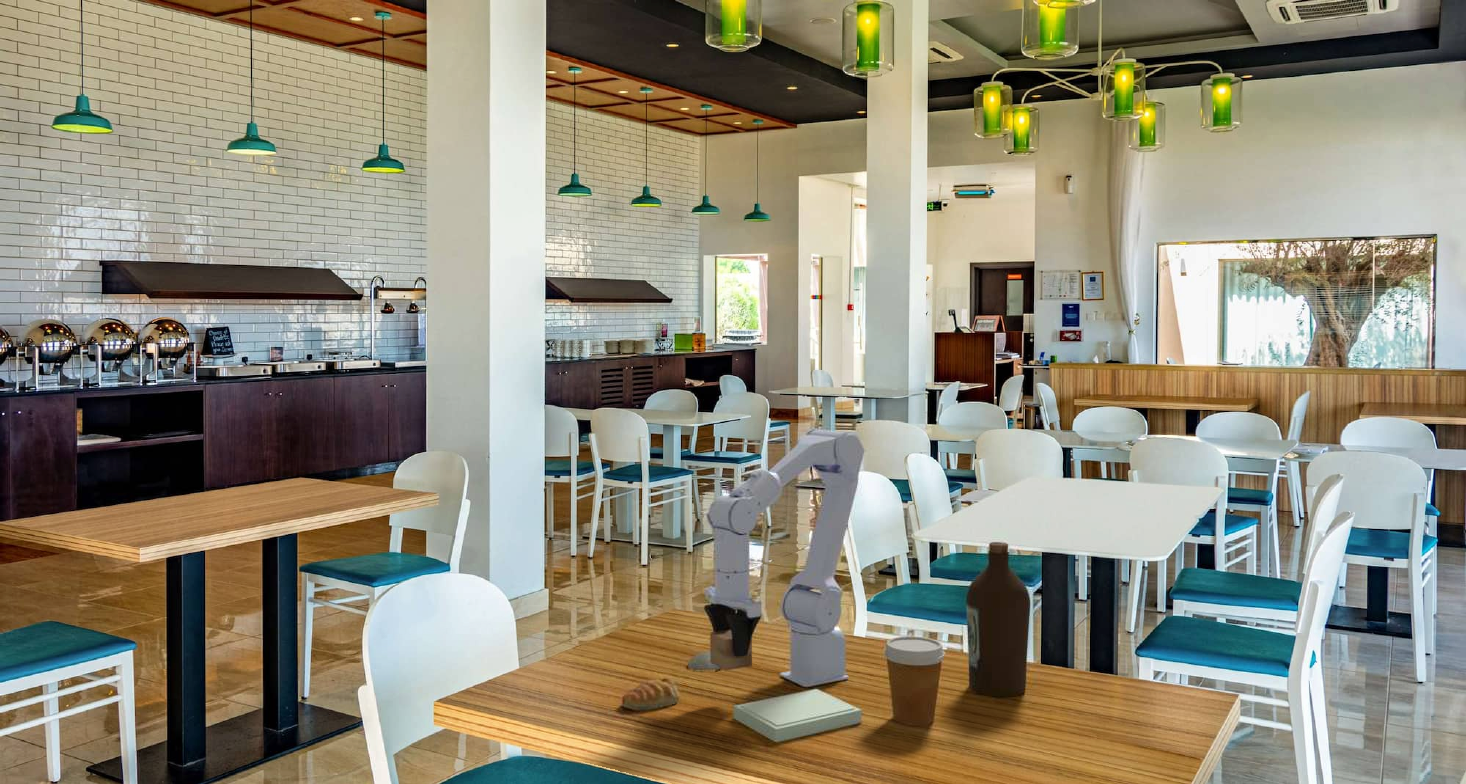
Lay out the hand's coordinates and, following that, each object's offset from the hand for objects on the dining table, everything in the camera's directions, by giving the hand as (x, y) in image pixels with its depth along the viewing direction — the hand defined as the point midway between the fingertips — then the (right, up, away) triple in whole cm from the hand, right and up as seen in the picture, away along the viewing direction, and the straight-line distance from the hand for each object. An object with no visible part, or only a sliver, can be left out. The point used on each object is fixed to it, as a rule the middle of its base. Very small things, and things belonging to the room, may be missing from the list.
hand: (732, 651), depth 177 cm
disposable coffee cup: (+29, -9, -8) cm, 31 cm away
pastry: (-13, -9, 0) cm, 16 cm away
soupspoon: (-2, -8, +26) cm, 28 cm away
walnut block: (0, -2, 0) cm, 2 cm away
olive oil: (+45, -8, +7) cm, 47 cm away
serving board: (+10, -9, -9) cm, 16 cm away
